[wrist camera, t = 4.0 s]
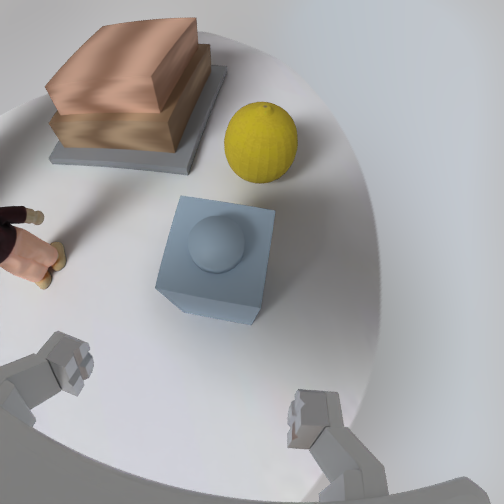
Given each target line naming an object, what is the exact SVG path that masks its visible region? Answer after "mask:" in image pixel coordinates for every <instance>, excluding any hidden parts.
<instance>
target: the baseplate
mask: <svg viewBox="0 0 504 504" xmlns="http://www.w3.org/2000/svg"><path fill="white" fill-rule="evenodd" d="M226 73H227V66H218V65H211V73H210V75H209V77H208V79H207V81H206V84H205V86H204V88H203V90H202V92H201V94H200V96H199V98H198V101H197V103H196V105H195V107H194V109H193V112H192V114H191V116H190V119H189V121H188V123H187V126H186V128H185V130H184V133H183V135H182V137H181V140H180V142H179V145H178V147H177V150H176V152H175V153H167V152H155V151H142V150H127V149H108V148H64V146H63V145H62V143H61V142H60V140H59V141H58V143H57V145H56V146H55V148H54V150H53V152H52V153H51V155H50V157H49V160H50V161H51V163H52V164H66V165H85V166H101V167H114V168H126V169H137V170H147V171H157V172H166V173H175V174H183V175H188V173H189V170H190V168H191V165H192V162H193V159H194V156H195V153H196V150H197V147H198V145H199V142H200V139H201V136H202V134H203V131H204V128H205V125H206V123H207V120H208V118H209V115H210V112H211V110H212V107H213V105H214V102H215V100H216V97H217V95H218V92H219V90H220V88H221V85H222V83H223V80H224V78H225V76H226Z"/></svg>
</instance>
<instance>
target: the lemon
mask: <svg viewBox="0 0 504 504" xmlns="http://www.w3.org/2000/svg"><path fill="white" fill-rule="evenodd" d="M224 146H225V155H226V158H227V161H228V163H229V165H230V167H231V168H232V170H233V171H234V172H235V173H236V174H237V175H238V176H240V177H241V178H242V179H244V180H246V181H249V182H253V183H268V182H272V181H274V180H276V179H278V178H280V177H281V176H282V175H283V174H285V173H286V172H287V170H288V169H289V167H290V166H291V165H292V163H293V161H294V158H295V155H296V152H297V146H298V139H297V130H296V126H295V124H294V121H293V119H292V118H291V116H290V115H289V114H288V113H287V112H286V111H285V110H284V109H282V108H281V107H279V106H277V105H275V104H272V103H269V102H255V103H251V104H248V105H246V106H244V107H242V108H241V109H240V110H238V111H237V112H236V113H235V115H234V116H233V117H232V119H231V120H230V122H229V125H228V127H227V130H226V134H225V139H224Z"/></svg>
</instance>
